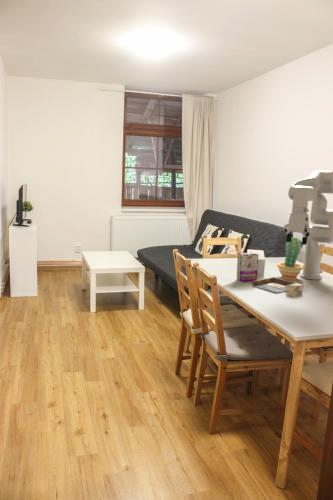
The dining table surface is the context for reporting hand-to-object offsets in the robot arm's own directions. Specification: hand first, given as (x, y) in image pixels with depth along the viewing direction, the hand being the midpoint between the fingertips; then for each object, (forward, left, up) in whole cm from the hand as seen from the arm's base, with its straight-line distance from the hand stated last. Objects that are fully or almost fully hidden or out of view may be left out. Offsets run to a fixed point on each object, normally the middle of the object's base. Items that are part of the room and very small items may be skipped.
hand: (296, 243), depth 228 cm
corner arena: (+1, -11, -27) cm, 29 cm away
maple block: (+2, +3, -27) cm, 27 cm away
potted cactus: (-25, -21, -27) cm, 42 cm away
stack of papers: (-22, -46, -27) cm, 58 cm away
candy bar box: (+4, -29, -27) cm, 40 cm away
